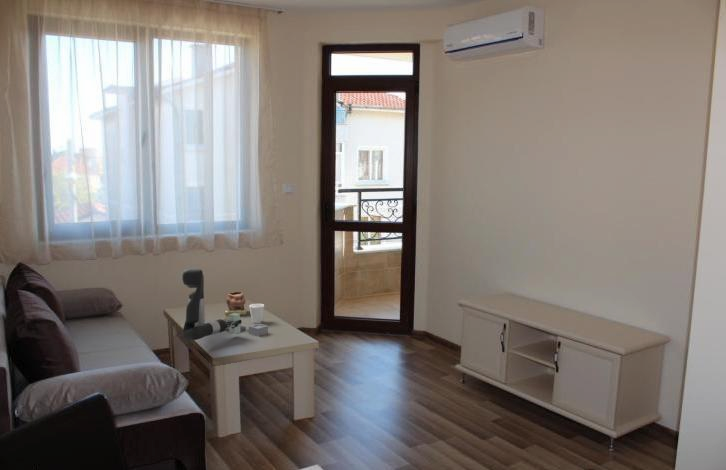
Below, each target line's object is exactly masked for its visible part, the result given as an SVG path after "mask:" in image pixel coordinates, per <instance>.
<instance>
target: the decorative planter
mask: <svg viewBox="0 0 726 470" xmlns="http://www.w3.org/2000/svg"><path fill="white" fill-rule="evenodd" d="M225 301H226V306H227V307H228V310H229V311H240V310H245V304H246V299H245V296H244V294H243V292H242V291H234V292H229V293H228V294H227V297H226V300H225Z"/></svg>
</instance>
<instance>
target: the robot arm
mask: <svg viewBox="0 0 726 470" xmlns="http://www.w3.org/2000/svg"><path fill="white" fill-rule="evenodd" d="M181 277H182V279H181V280H182V282H183V284H184V285H185V286H186V287H187V288H189V289H195V288H196V289H195V290H194V291H193V292H190V293H189V294H188V303H187V305H186V308H185V309H186V310H185V321H184V326H183V329H182V337H183V339H184V340H186V341H196V340H200V339H203V338H204V337H209V336H212V335H216V334H220V333H224V332H226V331H225V329H226V328H229V327H232V328H235V327H237V326H238V324H240V325H241V324H242V319H240V320H238V321H229V319H228V320H227V319H226V318H224V319H221V318H219V319H215V320H212V321H209V322H206V318H205V317H206V316H205V315H206V314H205V293H204V291H205V290H204V289H205V288H204V285H205V283H204V282H205V278H204V273H203V270H202V269H198V268H197V269H196V268H194V269H193V268H188V269H184V271H183V273H182V276H181ZM234 322H235V323H234Z"/></svg>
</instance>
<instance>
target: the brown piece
mask: <svg viewBox="0 0 726 470" xmlns="http://www.w3.org/2000/svg"><path fill="white" fill-rule="evenodd" d="M233 313H237V314H240V315H247V310H240V311H230V310H229V309H228V310H225V311H224V315H225V319H227V320H228V319H229V314H233Z"/></svg>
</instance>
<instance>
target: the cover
mask: <svg viewBox="0 0 726 470" xmlns="http://www.w3.org/2000/svg"><path fill="white" fill-rule="evenodd" d="M238 320H241V314H237V313H233V314H229V321H238ZM234 323H235V322H234ZM240 326H241V324H238V326H237V327H235V328H232V327H229V332H228V333H230V334H234V335H236V334H239V333H241V332H240Z"/></svg>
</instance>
